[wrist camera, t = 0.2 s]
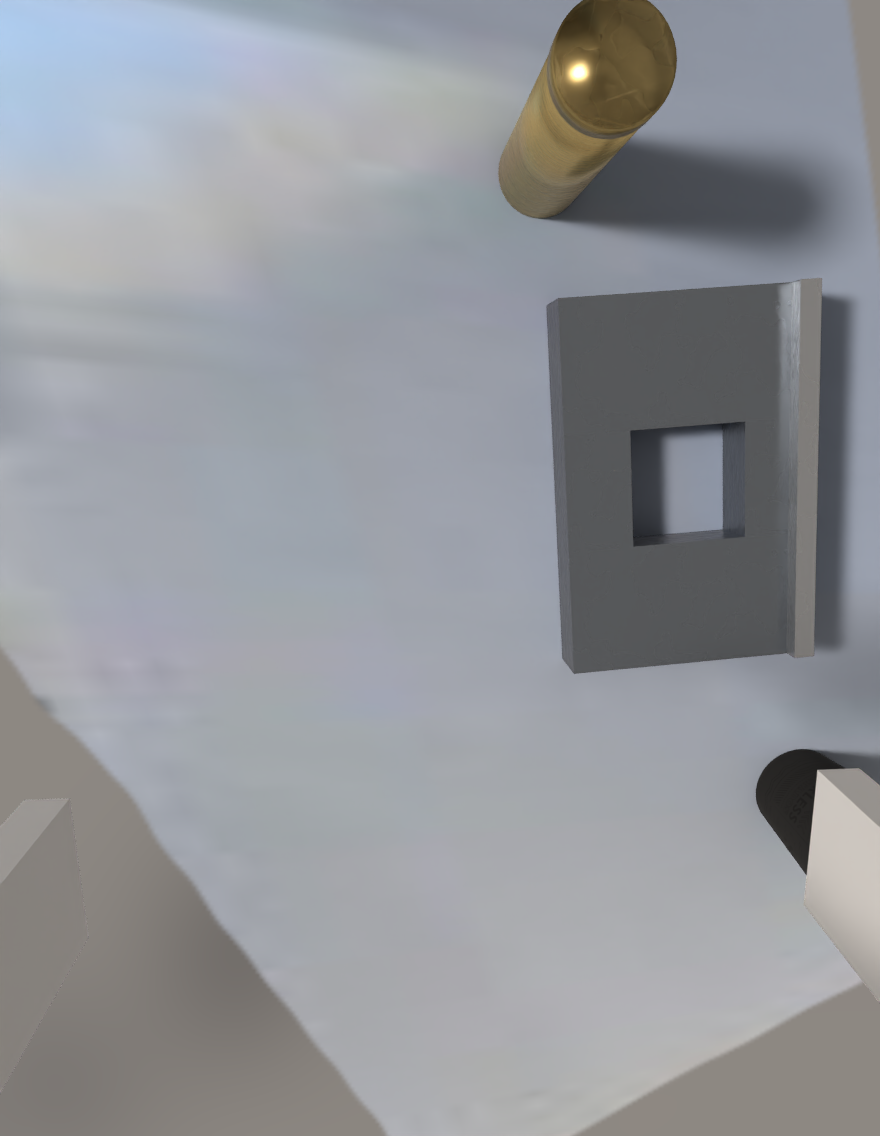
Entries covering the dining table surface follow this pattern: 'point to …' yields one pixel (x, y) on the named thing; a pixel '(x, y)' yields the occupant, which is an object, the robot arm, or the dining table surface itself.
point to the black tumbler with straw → (792, 798)
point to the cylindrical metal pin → (587, 102)
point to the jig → (750, 472)
